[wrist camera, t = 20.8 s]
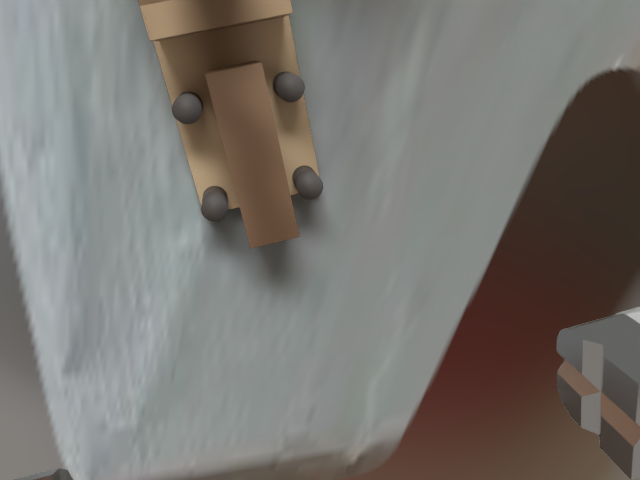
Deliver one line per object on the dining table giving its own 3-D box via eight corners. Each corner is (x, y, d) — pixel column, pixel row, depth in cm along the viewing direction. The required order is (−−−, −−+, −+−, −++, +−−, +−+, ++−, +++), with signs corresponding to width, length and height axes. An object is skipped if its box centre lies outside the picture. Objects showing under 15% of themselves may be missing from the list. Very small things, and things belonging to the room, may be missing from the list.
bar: (256, 60, 30) (261, 62, 26) (290, 213, 34) (299, 236, 30) (207, 70, 30) (204, 74, 26) (246, 223, 34) (250, 248, 30)
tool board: (259, -126, 28) (266, -162, 23) (318, 183, 35) (333, 205, 30) (114, -102, 27) (91, -134, 22) (204, 209, 34) (201, 236, 29)
